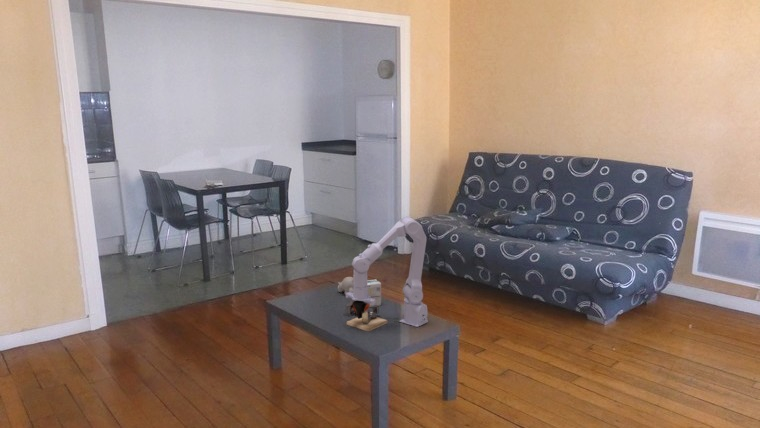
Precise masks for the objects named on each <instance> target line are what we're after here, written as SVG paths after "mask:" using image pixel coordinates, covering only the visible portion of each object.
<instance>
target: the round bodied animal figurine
mask: <svg viewBox="0 0 760 428" xmlns="http://www.w3.org/2000/svg"><path fill="white" fill-rule="evenodd" d="M337 284H338V285H337V291H338V293H342V292H344V296H346V293H348V292H350V293H353V277H352V276H347V277H344V278H343V279H342V281H337Z"/></svg>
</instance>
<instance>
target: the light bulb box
mask: <svg viewBox="0 0 760 428" xmlns="http://www.w3.org/2000/svg"><path fill="white" fill-rule="evenodd" d="M367 296H369V297H371V298H372V299H375V300H376V301H375V305H379V307H380V306H382V283H381V282H380V281H379V280H377V279H367ZM373 306H374V305H371V304H370V307H369V308H371V307H372V308H373Z"/></svg>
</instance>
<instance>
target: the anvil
mask: <svg viewBox="0 0 760 428" xmlns="http://www.w3.org/2000/svg"><path fill="white" fill-rule="evenodd" d="M353 302H354V301H353V300H352V301H349V302H348V303H347V304H346V305H345V311H344V313H343V316H344V317H351V316H352V315H354V313H356V312H355V311H354V309H353Z"/></svg>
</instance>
